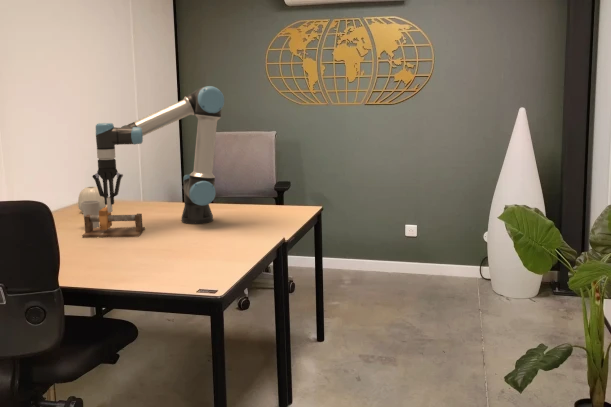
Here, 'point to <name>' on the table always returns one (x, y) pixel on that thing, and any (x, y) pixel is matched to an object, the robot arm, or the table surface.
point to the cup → (91, 209)
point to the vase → (91, 197)
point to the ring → (104, 219)
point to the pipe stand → (113, 232)
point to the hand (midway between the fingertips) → (110, 211)
